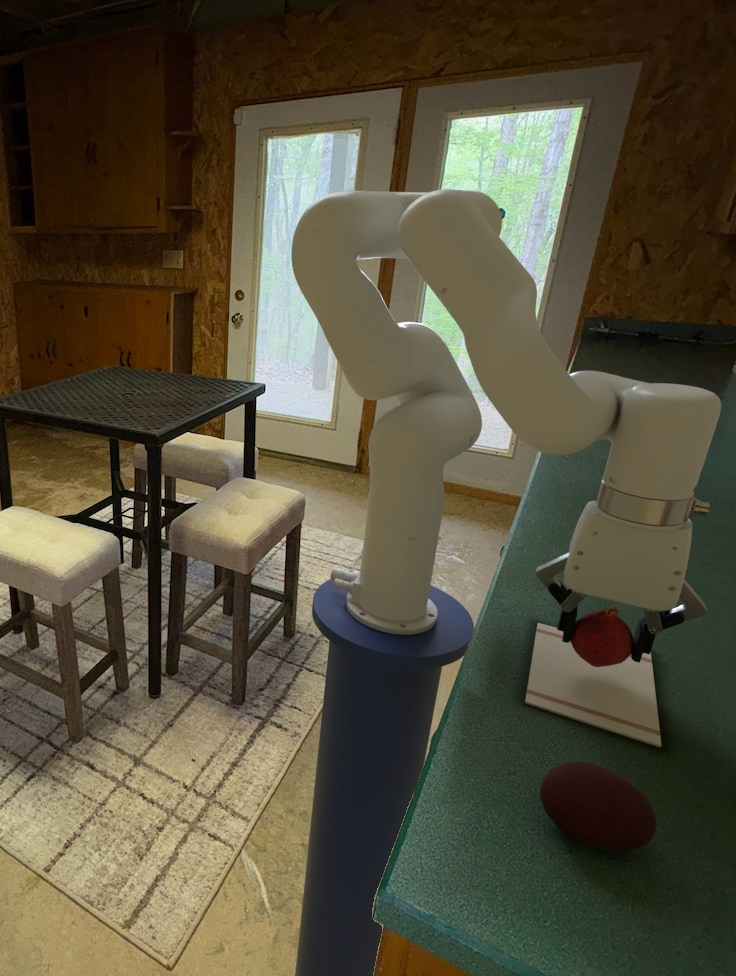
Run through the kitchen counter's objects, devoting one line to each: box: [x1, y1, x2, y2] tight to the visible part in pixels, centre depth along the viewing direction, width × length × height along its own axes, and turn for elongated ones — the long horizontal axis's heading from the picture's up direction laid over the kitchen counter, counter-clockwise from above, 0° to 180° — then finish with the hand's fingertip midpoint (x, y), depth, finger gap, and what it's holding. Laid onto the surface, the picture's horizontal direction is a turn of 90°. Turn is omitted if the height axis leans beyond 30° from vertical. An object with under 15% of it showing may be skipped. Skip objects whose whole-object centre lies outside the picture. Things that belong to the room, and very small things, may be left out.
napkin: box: [524, 622, 663, 749], centre depth 74 cm, size 12×18×1 cm, turn 145°
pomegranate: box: [570, 605, 634, 667], centre depth 71 cm, size 6×6×8 cm
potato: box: [539, 761, 658, 853], centre depth 54 cm, size 7×8×6 cm
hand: (600, 644), depth 72 cm, fingers closed on pomegranate, 5 cm apart
